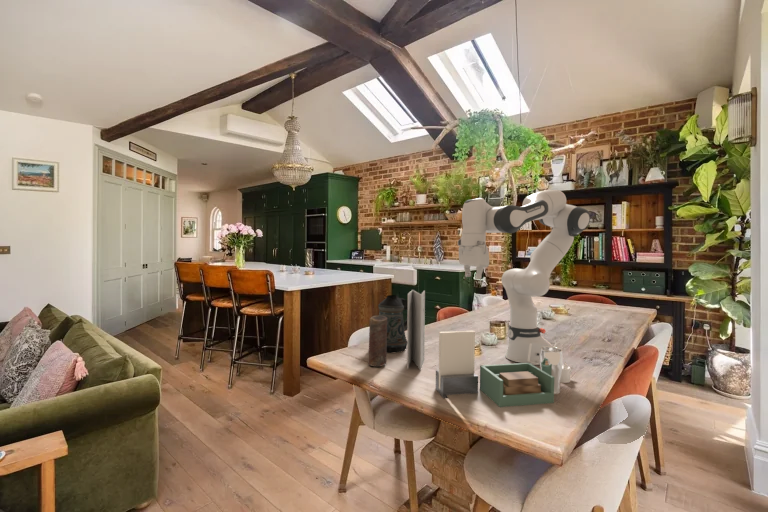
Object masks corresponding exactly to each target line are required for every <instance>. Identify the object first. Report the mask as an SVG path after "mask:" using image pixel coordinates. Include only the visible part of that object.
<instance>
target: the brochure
mask: <svg viewBox="0 0 768 512" xmlns="http://www.w3.org/2000/svg"><path fill="white" fill-rule="evenodd" d="M407 302H408V310H407V318H406V320H407V329H406V330H407V335H406V339H407V346H406V355H407V357H406V359H407V360H406V363H407V364H406V365H407V366H406V370H409V368H410V365H411V363H412V362H415V363H414V364H415V366H418V367H417V368H418V370H419V371H422V369H421V368H423V366H422V365H424V362H425V338H426V337H425V325H426V324H425V323H426V320H425V319H426V318H425V317H426V316H425V315H426V313H425V312H426V310H425V309H426V290H423V291H422V292H421V293H420V292H418V291H416V290H415V289H411V291H409V292H408V293H407ZM411 360H412V361H411Z"/></svg>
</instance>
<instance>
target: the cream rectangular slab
mask: <svg viewBox="0 0 768 512" xmlns="http://www.w3.org/2000/svg"><path fill="white" fill-rule="evenodd" d="M475 342H476V331H475V330H457V331H456V330H453V331H439V332H438V370H439V389H440V390H441V376H443V375H460V374H475V353H476V352H475V350H476V347H475V345H476V343H475Z"/></svg>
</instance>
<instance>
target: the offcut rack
mask: <svg viewBox="0 0 768 512" xmlns="http://www.w3.org/2000/svg"><path fill="white" fill-rule="evenodd" d="M524 371H528V372H530V373H531V374H533V375H534V376H536V377H538V384H540V385H541V391H542V392H544V393H530V394H516V395H503V380H502V379H501V378H499V373H507V372H524ZM479 374H480V375H479V390H480V391H481V392H483V393H484V394H485V396H487V397H488V398H489V399H490V400H492V401H493V402H494V403H495V404H496V405H497V406H498V407H499V408H504V407H505V408H506V407H516V406H518V407H519V406H533V405H542V404H554V403H555V394H554V377H553V376H551V375H550V374H548V373H546V372H544V371H543V370H541V368H540V367H537V365H532V364H530V363H520V362H516V363H501V364H483V365H481V364H480V365H479Z"/></svg>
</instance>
